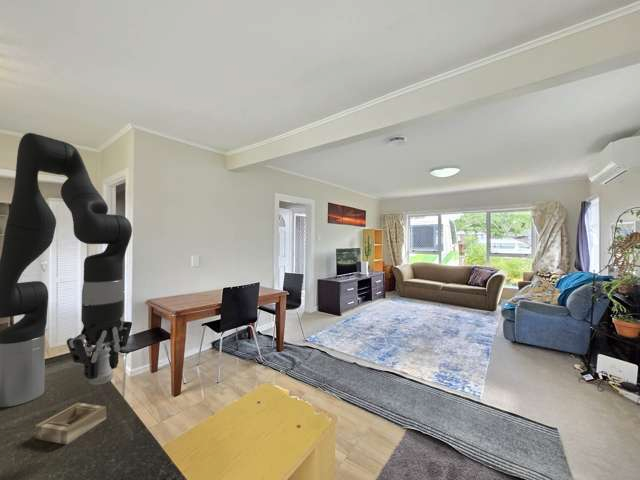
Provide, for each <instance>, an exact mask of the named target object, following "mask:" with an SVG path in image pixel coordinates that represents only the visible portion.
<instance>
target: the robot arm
mask: <svg viewBox="0 0 640 480" xmlns="http://www.w3.org/2000/svg"><path fill="white" fill-rule="evenodd" d="M16 156H17V157H16V166H15V177H14V186H13V187H14V188H13V193H12V199H11V203H10V207H9V211H8V215H7V220H6V225H5V228H4V235H3V242H2V249H1V252H0V253H1V254H0V319H5V318H11V317H17V316H23V317H22V318H21V319H20V320H18V321H17V322H15V323H14V324H11V325H10V326H8V327H6V328H3V329H1V330H0V408H9V407H10V408H11V407H15V406H19V405H22V404H25V403H28V402H30V401H33V400H35V399H37V398H39V397H41V396H42V395H43V394H44V393H45V376H46V375H45V368H46V367H45V361H46V360H45V359H46V358H45V357H46V355H45V352H46V351H45V350H46V349H45V348H46V346H45V345H46V339H45V338H46V326H47V322H48V308H49V290H48V287H47V285H46V284H45V283H44V282H42V281H38V280H37V281H36V280H35V281H34V280H33V281H24V282H22V281H21V282H19V280H20V278H21V277H22V275H23V273H24V271H25V270H26V269H27V268H28V267H29V266H30V265H31V264H32V263H33V262H35V260H37V259H38V258H39V257H40V256H41V255H43V254H44V253H45V252H46V251H47V249H49V247H50V246H51V244H52V242H53V241H54V236H55V231H56V227H57V219H56V217H55V214H54V212H53V211H52V209H51V207H50V205H49V204H48V203H47V201H46V200H45V198H44V196H43V194H42V192H41V190H40V187H39V172H42V173H46V174H47V173H48V174H53V175H59V176H65V177H66V178H67V179H66V180H65V181H64V182H63V183H62V185H61V188H60V196H61V199H62V201H63V202H64V204H65V205H66V207H67V208H68V210H69V211H70V213H71V217H72V222H73V223H72V224H73V228H72V229H73V234H74V236H75V238H76V239H77V240H78V241H80V242H81V243H83V244H86V245H107V246H106V248H105V250H103V251H102V252H100V253H95V254H91V255H88V256H86V257H85V259H84V261H83V284H82V289H81V316H80V317H81V322H82V325H83V326H82V329H81V332H80V334H78V335H77V336H75V337H73V338H72V337H70V338H67V340H66V345H67V348H68V350H69V352H70V353H69V354H70V356H71V358H72V361H73V363H75V364H82V365H83V366H84V369H83V370H84V371H83V375H84V377H85V379H87V380H91V379H94V378H96V377H97V361H96V360H97V356H98V353H99V351H101V349H102V346H103V344H106V345H107V344H109V347H110V348H111V350H110V351H109V355H110V356H109V364H110V367H111V369H113V370H114V369H116V368H117V367H118V365H119V357H120V356H119V352H120V351H121V349H122V348H125V347H127V345H128V341H129V337H130V333H131V330H132V325H133V321H124V320H121V319H122V317H123V316H124V285H123V262H124V259H125V256H126V253H127V249H128V246H129V243H130V241H131V237H132V233H133V227H132V224H131V221H130V220H129V219H128V218H127V217H125V216H124V215H119V214H111V213H109V214H108V211H109V206H108V205H107V202H106V201H105V199H104V198H103V197H102V195H101V194H100V192H99V191H98V190H97V189H96V187H95V186H94V184H93V183H92V180H91V178H90V175H89V173H88V170H87V167H86V165H85V163H84V160H83V158H82V156H81V154H80V152H79V150H78V149H77V147H76V146H74V145H73V144H71V143H69V142H66V141H63V140H59V139H55V138H52V137H48V136H44V135H41V134H37V133H34V132H27V133H25V134H23V136H22V137H21V139H20V141H19V144H18V149H17V154H16Z"/></svg>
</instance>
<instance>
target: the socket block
mask: <svg viewBox="0 0 640 480" xmlns="http://www.w3.org/2000/svg"><path fill="white" fill-rule="evenodd" d="M105 420H107V406H105V405H98V404H90V403H85V402H83V403H82V402H77V403H75V404H72V405H71V406H69V407H67V408H65V409H64V410H62V411H60V412H58V413H56V414H55V415H52V416H51V417H49V418H47V419H45V420H43V421H42V422H39V423H37V424H35V439H36V440H41V441H46V442H50V443H51V442H52V443H56V444H62V445H69V444H70V443H71V442H73V441H75V440H76V439H78V438H79V437H81V436H82V435H84V434H85V433H87V432H89V431H90V430H91V429H93V428H94V427H96V426H98V425H99V424H100V423H101V422H103V421H105Z"/></svg>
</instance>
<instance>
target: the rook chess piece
mask: <svg viewBox="0 0 640 480" xmlns="http://www.w3.org/2000/svg"><path fill="white" fill-rule="evenodd" d="M110 350H111V348H110V347H109V344H107V345H106V344H103V345H102V349H101V351H99V353H98V356H97V360H96V361H97V377H96V378H94V379H89V383H90V384H91V385H94V386H98V385H103V384H107V383H109V382H110V381H112V380H113V378H114V376H115V375H114V369H111V367H110V364H109V356H110V355H109V351H110Z"/></svg>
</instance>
